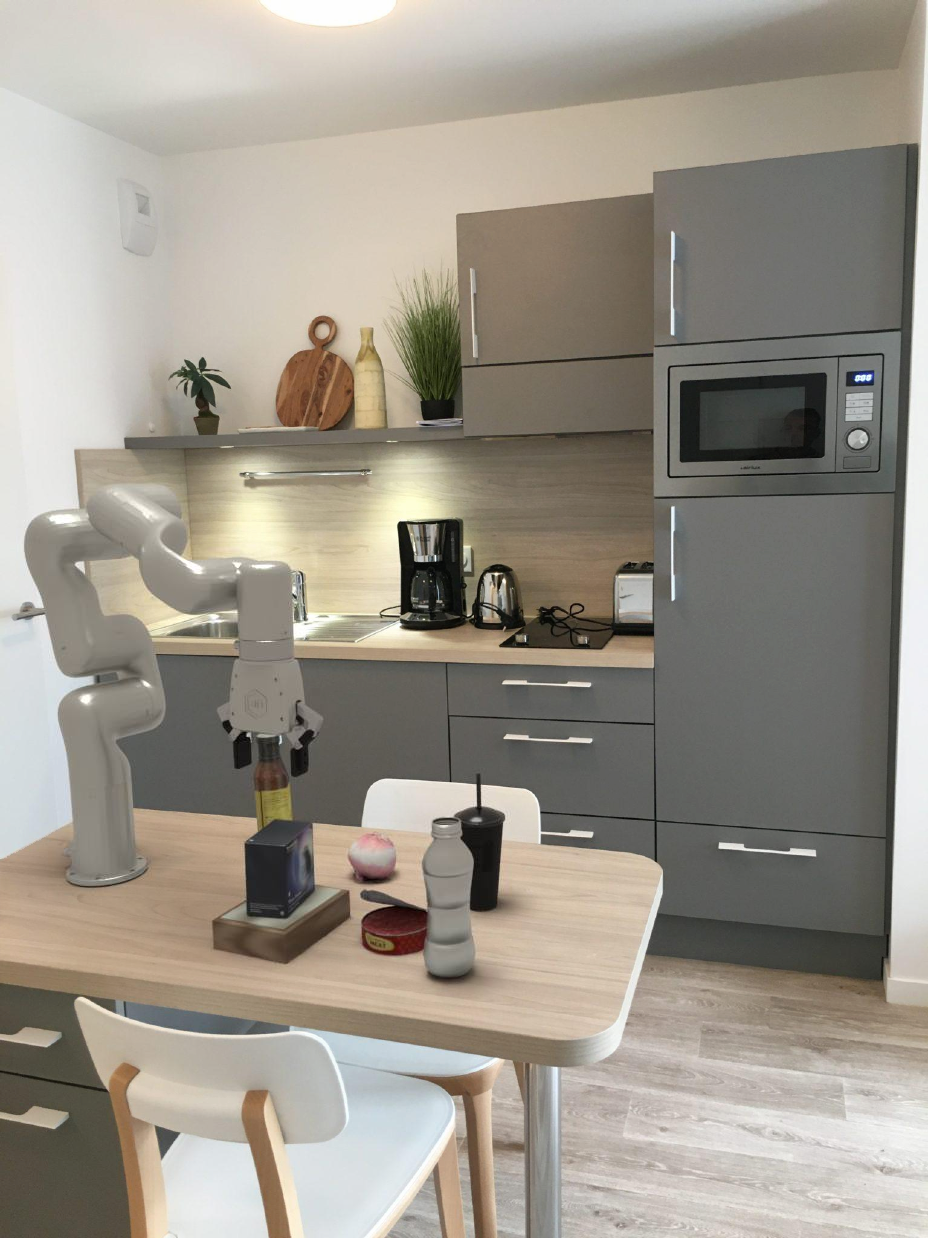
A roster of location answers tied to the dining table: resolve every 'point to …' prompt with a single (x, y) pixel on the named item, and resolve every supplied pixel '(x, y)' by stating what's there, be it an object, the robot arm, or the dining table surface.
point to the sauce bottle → (271, 783)
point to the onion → (372, 857)
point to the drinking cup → (483, 850)
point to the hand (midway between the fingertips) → (271, 770)
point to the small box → (279, 868)
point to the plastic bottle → (448, 901)
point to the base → (282, 926)
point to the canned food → (393, 926)
